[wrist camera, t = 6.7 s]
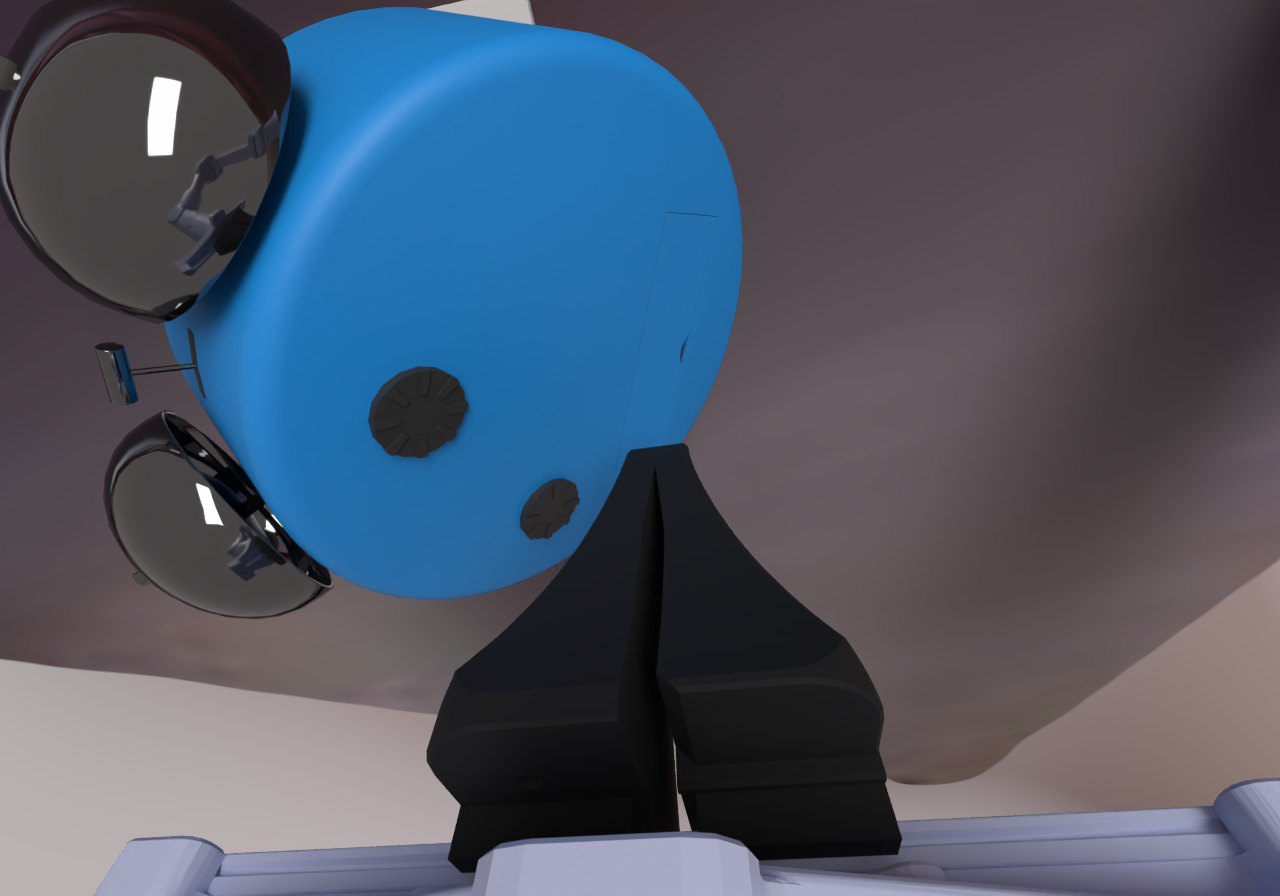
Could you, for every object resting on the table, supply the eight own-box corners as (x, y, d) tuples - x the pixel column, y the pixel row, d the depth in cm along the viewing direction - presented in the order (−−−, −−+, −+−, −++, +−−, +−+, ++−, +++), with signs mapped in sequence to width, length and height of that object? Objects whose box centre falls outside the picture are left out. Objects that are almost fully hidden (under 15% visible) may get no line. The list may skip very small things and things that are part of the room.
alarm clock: (648, 80, 17) (-136, -181, 7) (818, 114, 14) (-161, -274, 4) (581, 433, 24) (121, 568, 14) (688, 511, 21) (193, 766, 10)
